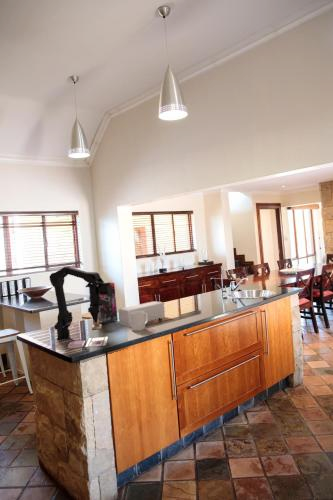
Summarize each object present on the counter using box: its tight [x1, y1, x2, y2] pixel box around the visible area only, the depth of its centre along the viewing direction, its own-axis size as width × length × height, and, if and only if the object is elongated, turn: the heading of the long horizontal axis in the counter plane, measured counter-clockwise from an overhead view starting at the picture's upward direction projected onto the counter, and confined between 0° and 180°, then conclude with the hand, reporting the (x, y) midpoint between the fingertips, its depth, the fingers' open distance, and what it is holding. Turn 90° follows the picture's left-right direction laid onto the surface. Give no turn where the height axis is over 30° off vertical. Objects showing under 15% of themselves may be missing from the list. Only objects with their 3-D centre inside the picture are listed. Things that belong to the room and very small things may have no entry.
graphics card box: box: [92, 282, 119, 326], centre depth 257 cm, size 17×7×27 cm, turn 137°
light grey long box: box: [117, 300, 166, 328], centre depth 257 cm, size 32×11×11 cm, turn 133°
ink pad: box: [67, 340, 86, 349], centre depth 205 cm, size 8×9×2 cm
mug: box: [130, 311, 149, 333], centre depth 233 cm, size 12×9×11 cm
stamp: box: [91, 312, 103, 331], centre depth 215 cm, size 5×5×10 cm
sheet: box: [84, 336, 109, 348], centre depth 210 cm, size 11×18×1 cm, turn 4°
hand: (96, 321), depth 215 cm, fingers closed on stamp, 4 cm apart
